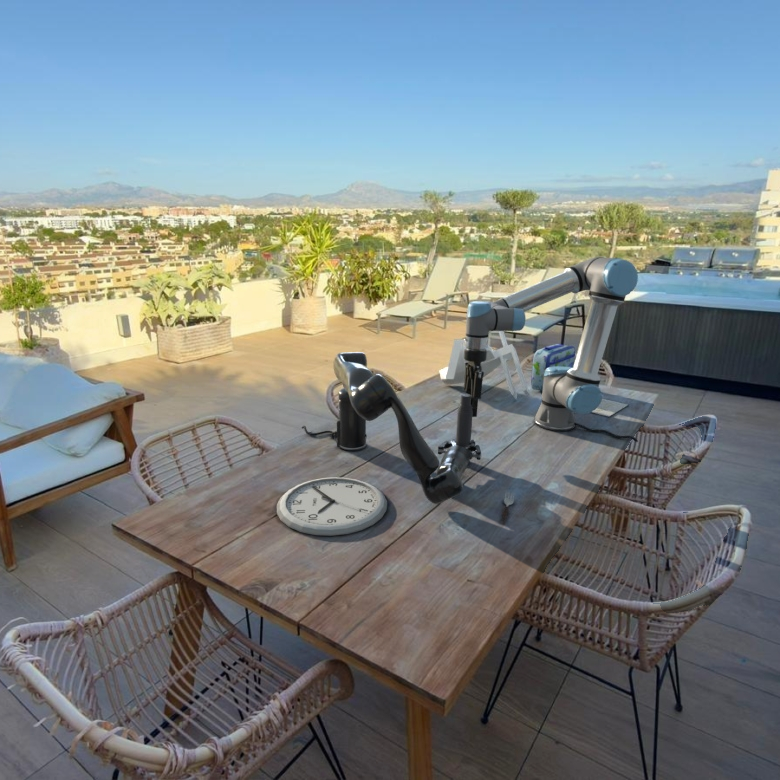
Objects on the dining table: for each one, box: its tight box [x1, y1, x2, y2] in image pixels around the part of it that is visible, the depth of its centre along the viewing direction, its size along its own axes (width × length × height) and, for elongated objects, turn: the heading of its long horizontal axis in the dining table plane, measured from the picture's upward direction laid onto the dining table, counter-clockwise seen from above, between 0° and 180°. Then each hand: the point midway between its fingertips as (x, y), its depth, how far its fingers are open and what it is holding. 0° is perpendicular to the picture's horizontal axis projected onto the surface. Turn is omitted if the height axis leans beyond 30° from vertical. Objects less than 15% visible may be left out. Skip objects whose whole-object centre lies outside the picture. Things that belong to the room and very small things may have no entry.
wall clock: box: [276, 476, 388, 537], centre depth 142 cm, size 30×2×30 cm
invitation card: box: [591, 398, 629, 418], centre depth 226 cm, size 21×1×15 cm
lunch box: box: [530, 343, 576, 392], centre depth 248 cm, size 26×11×21 cm, turn 134°
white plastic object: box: [438, 331, 531, 400], centre depth 245 cm, size 37×45×31 cm
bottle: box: [455, 393, 473, 465], centre depth 167 cm, size 5×5×23 cm
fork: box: [501, 490, 516, 524], centre depth 141 cm, size 3×16×2 cm, turn 160°
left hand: (464, 441), depth 171 cm, fingers closed on bottle, 4 cm apart
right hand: (470, 413), depth 182 cm, fingers closed on cap, 4 cm apart
